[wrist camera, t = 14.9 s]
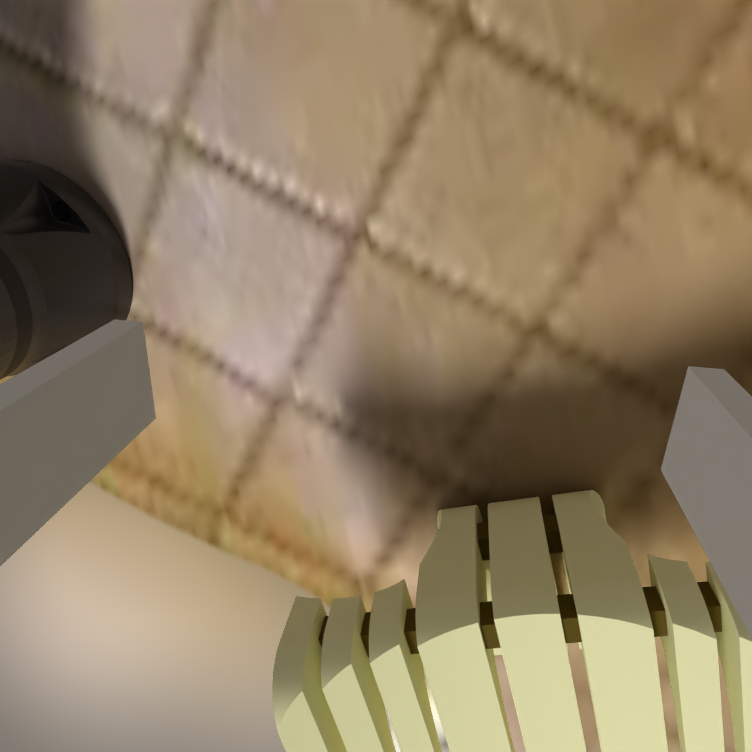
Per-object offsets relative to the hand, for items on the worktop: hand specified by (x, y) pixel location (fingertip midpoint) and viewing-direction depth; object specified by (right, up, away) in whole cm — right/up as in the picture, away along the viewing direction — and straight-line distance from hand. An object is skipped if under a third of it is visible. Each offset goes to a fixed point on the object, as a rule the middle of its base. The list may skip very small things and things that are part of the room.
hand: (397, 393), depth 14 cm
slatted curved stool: (+12, -15, +34) cm, 39 cm away
